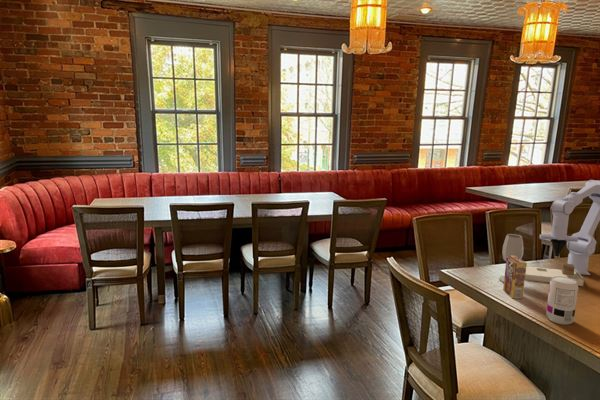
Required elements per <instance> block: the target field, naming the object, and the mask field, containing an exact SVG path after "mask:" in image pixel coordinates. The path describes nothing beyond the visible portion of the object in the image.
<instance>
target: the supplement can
mask: <svg viewBox="0 0 600 400" xmlns="http://www.w3.org/2000/svg"><path fill="white" fill-rule="evenodd" d="M578 292H579V286H578V285H577V282H576V281H575V280H573V279H571V278H567V277H561V276H556V277H553V278H552V280H551V281H550V282H549V288H548V293H547V294H548V297H547V304H546V311H545V312H546V314H545V315H546V316H545V317H546V318H547V319H548V320H549V321H551V322H552V323H555V324H557V325H565V326H566V325H567V326H569V325H571V324H573V323H574V321H575V316H576V315H575V314H576V306H577V299H578Z"/></svg>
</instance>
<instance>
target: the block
mask: <svg viewBox="0 0 600 400" xmlns="http://www.w3.org/2000/svg"><path fill="white" fill-rule="evenodd" d="M567 263H568V262H562V265H561V270H562V273H563V274H565V275H573V276H574V268H575V267H574V265H573V264H567Z"/></svg>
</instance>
